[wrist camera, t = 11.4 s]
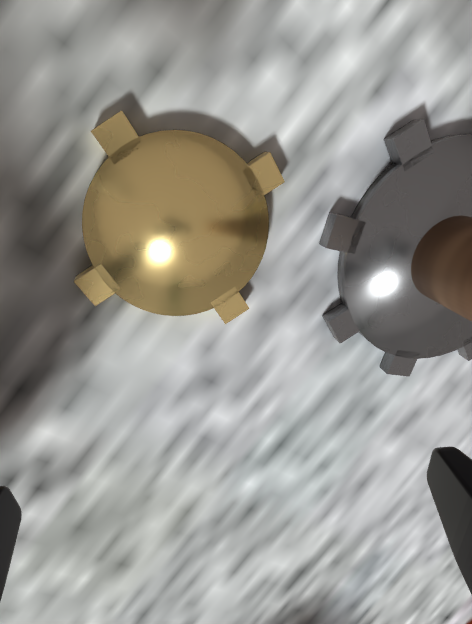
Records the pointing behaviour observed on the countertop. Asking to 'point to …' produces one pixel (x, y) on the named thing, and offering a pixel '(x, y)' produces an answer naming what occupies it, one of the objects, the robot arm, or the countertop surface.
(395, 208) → the steel gear disc
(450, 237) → the walnut axle
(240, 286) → the brass gear disc
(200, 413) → the countertop surface
